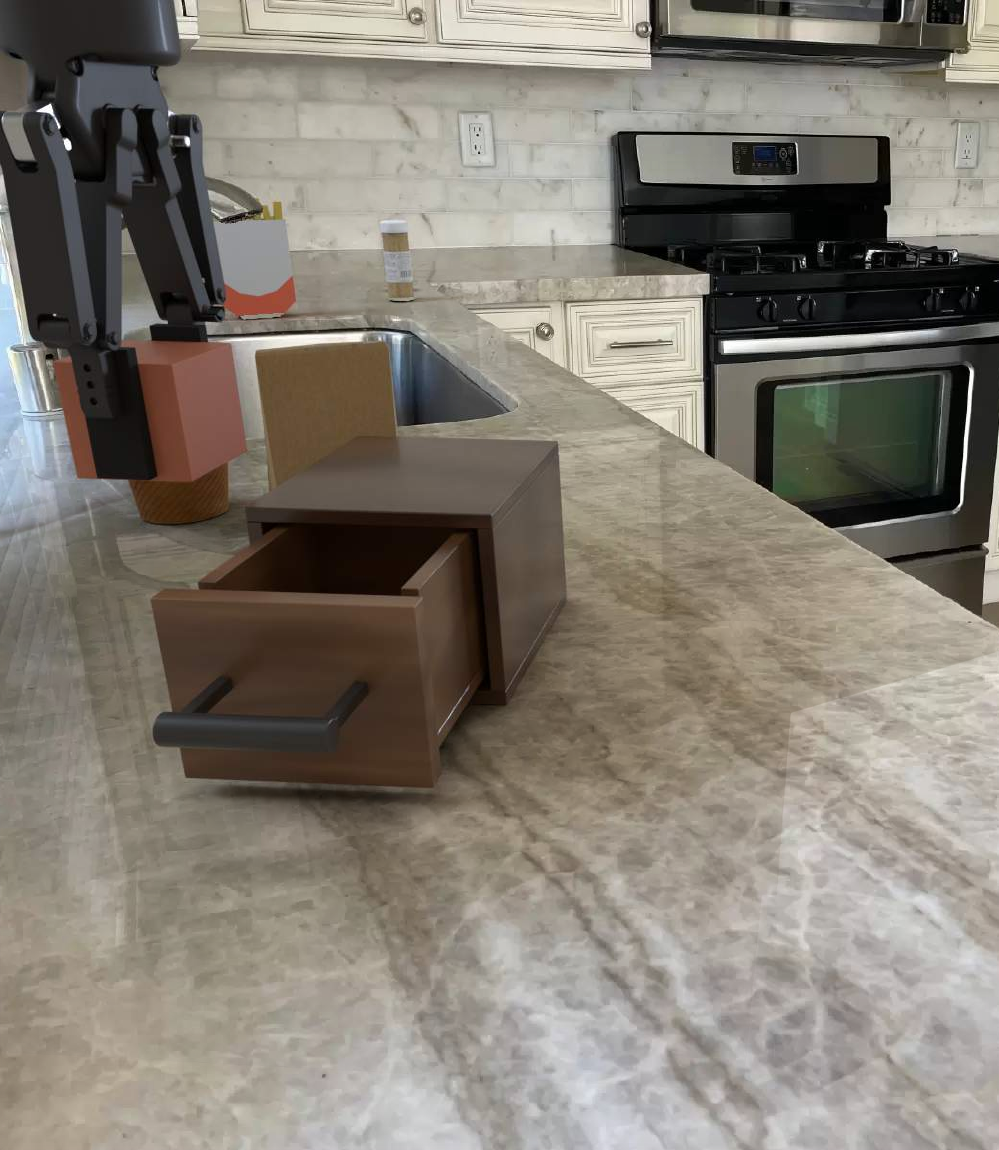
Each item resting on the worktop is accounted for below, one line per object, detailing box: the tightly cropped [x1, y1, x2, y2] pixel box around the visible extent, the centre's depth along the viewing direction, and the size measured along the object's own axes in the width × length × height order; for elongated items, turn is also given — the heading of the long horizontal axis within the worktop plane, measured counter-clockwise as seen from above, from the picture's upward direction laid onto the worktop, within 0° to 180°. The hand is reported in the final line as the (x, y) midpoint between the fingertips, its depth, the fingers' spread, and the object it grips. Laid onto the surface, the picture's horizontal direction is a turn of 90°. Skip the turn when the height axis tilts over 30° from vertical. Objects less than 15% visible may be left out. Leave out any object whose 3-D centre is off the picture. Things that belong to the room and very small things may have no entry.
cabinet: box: [243, 436, 568, 706], centre depth 66 cm, size 15×13×11 cm
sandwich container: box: [254, 340, 399, 492], centre depth 85 cm, size 9×15×15 cm, turn 26°
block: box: [52, 339, 248, 482], centre depth 60 cm, size 6×6×6 cm
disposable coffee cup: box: [127, 462, 230, 525], centre depth 88 cm, size 10×10×12 cm
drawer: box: [149, 523, 489, 789], centre depth 54 cm, size 18×11×9 cm, turn 177°
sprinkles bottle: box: [379, 219, 415, 298], centre depth 198 cm, size 5×5×14 cm
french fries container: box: [213, 197, 297, 317], centre depth 178 cm, size 5×11×18 cm, turn 123°
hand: (163, 458), depth 61 cm, fingers closed on block, 6 cm apart
